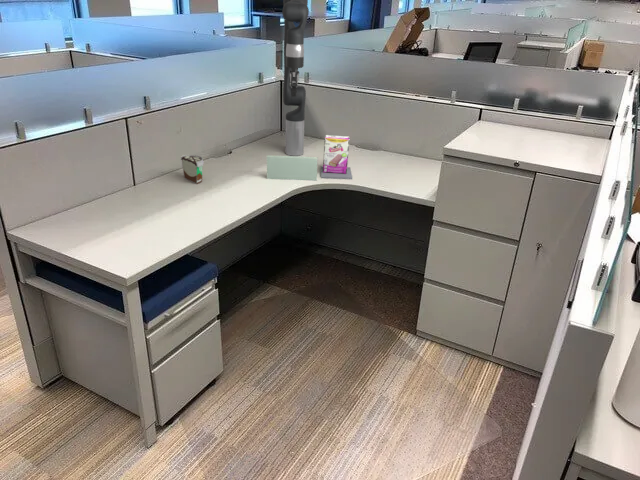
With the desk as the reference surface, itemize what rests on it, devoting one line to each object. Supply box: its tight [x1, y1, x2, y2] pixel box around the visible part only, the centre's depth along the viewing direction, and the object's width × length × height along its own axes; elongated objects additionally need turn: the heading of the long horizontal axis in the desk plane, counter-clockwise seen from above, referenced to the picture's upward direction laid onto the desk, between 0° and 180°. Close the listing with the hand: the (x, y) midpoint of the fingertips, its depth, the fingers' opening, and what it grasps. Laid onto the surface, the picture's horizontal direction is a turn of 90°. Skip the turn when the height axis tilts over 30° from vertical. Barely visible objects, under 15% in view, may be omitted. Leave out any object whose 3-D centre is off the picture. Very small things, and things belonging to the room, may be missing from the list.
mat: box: [320, 165, 353, 180], centre depth 232 cm, size 14×14×1 cm
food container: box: [180, 154, 205, 185], centre depth 216 cm, size 12×6×10 cm, turn 47°
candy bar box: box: [322, 134, 351, 174], centre depth 228 cm, size 11×5×16 cm, turn 87°
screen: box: [266, 155, 319, 181], centre depth 221 cm, size 2×22×10 cm, turn 91°
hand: (294, 94), depth 219 cm, fingers open, 8 cm apart
